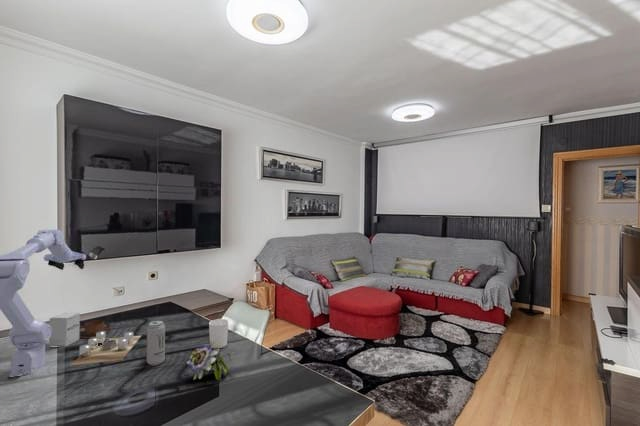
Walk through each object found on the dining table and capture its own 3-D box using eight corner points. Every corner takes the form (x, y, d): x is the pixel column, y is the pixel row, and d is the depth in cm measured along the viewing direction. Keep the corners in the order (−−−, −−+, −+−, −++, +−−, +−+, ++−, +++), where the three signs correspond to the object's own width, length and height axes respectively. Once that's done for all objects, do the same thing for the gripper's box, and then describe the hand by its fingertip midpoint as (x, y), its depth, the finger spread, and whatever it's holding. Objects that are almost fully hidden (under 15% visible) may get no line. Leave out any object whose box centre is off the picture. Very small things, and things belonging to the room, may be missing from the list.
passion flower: (196, 397, 104) (176, 362, 106) (223, 374, 114) (204, 342, 116) (214, 386, 97) (193, 349, 99) (241, 363, 108) (221, 330, 110)
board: (122, 361, 116) (122, 359, 116) (69, 367, 111) (69, 365, 111) (141, 337, 139) (141, 335, 139) (98, 341, 134) (98, 339, 134)
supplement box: (65, 348, 127) (66, 317, 127) (48, 348, 127) (48, 317, 127) (80, 340, 135) (80, 312, 135) (63, 340, 135) (64, 312, 135)
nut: (118, 344, 129) (118, 339, 129) (114, 349, 124) (114, 343, 124) (104, 346, 127) (104, 340, 127) (99, 350, 123) (99, 345, 123)
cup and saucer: (83, 343, 132) (83, 329, 132) (74, 336, 140) (74, 323, 140) (114, 334, 142) (114, 321, 142) (105, 328, 149) (105, 316, 149)
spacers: (123, 353, 120) (123, 343, 120) (77, 358, 116) (77, 348, 116) (137, 336, 137) (137, 327, 137) (97, 340, 133) (97, 331, 133)
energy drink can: (157, 367, 111) (157, 326, 112) (142, 365, 113) (143, 325, 113) (168, 359, 117) (168, 320, 117) (154, 358, 119) (155, 319, 119)
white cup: (231, 341, 134) (231, 319, 134) (223, 349, 126) (223, 325, 126) (213, 341, 135) (214, 318, 135) (205, 348, 127) (205, 324, 127)
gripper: (83, 242, 131) (94, 259, 141) (43, 242, 128) (57, 260, 137) (77, 255, 127) (89, 272, 137) (35, 256, 123) (50, 274, 133)
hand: (72, 267), depth 137 cm, fingers open, 7 cm apart
